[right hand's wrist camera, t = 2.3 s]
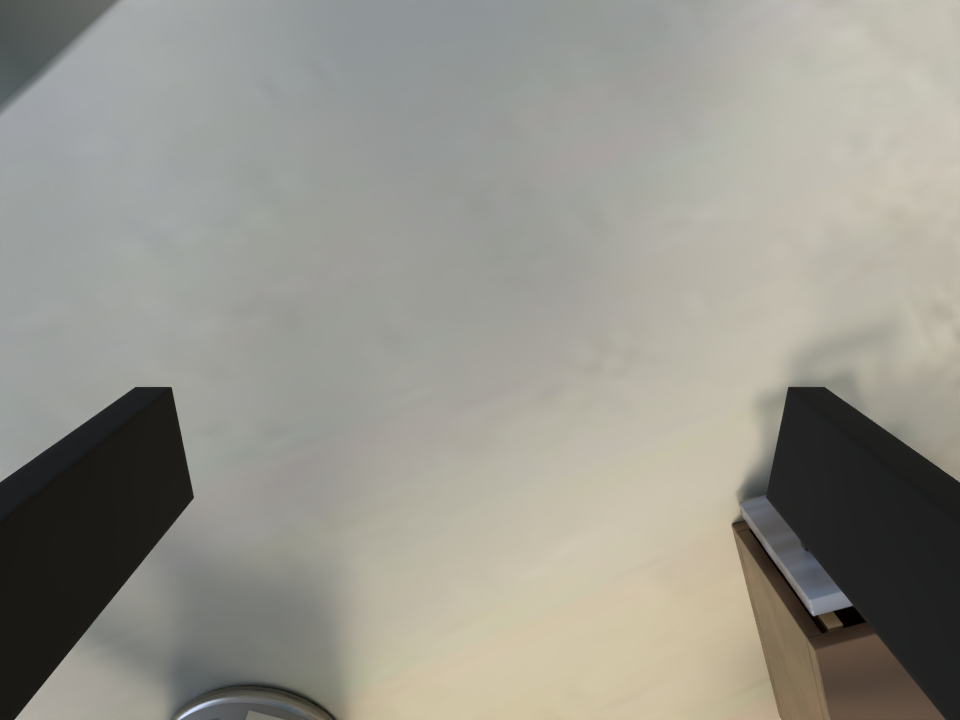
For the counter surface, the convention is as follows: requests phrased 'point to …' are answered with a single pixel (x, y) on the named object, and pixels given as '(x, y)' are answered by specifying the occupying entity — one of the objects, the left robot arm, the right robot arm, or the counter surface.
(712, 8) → the counter surface
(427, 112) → the counter surface
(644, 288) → the counter surface
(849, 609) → the drawer
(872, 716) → the cabinet
